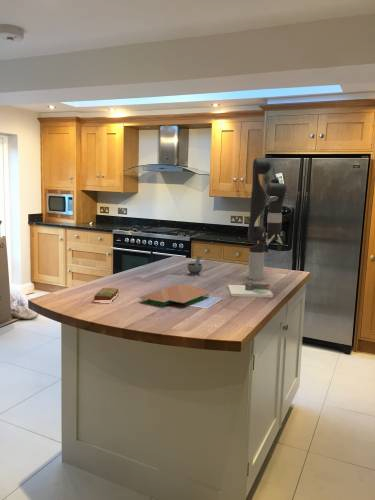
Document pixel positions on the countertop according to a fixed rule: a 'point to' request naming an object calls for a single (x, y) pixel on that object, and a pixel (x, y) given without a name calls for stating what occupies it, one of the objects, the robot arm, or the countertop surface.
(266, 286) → the metal serving spoon
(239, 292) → the dial plate
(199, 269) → the mortar and pestle
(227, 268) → the countertop surface
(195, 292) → the wooden board
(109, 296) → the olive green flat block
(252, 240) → the robot arm
